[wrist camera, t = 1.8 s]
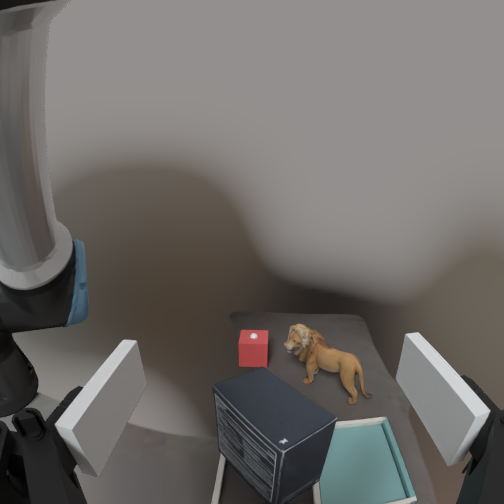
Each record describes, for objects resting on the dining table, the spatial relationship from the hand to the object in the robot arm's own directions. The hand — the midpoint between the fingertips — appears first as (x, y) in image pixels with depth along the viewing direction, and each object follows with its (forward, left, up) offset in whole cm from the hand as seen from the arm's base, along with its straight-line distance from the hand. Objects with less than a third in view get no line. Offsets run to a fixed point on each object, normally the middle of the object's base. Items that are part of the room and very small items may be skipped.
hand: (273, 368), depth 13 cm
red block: (-3, +31, -21) cm, 37 cm away
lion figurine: (+8, +24, -21) cm, 33 cm away
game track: (+5, +8, -21) cm, 23 cm away
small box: (0, +8, -20) cm, 22 cm away
